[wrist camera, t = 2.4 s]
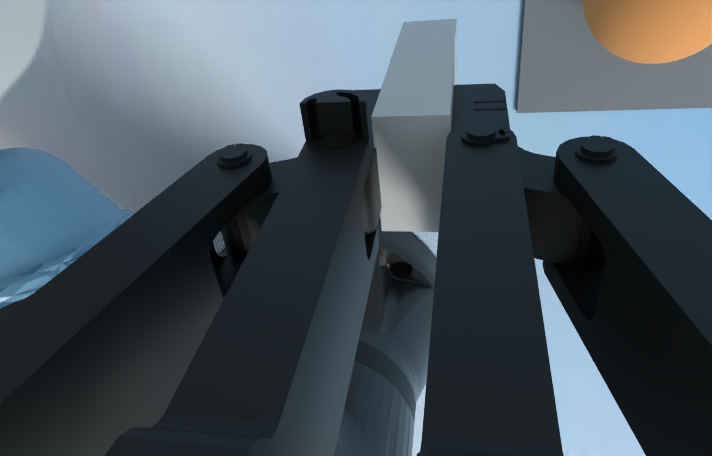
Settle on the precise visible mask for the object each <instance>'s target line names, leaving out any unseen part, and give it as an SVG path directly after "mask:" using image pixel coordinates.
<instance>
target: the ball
mask: <svg viewBox="0 0 712 456" xmlns="http://www.w3.org/2000/svg"><path fill="white" fill-rule="evenodd" d="M582 3H583V11H584V15H585V19H586V21H587V24H588V27H589V29H590V30H591V32H592V34H593V36H594V37H595V38H596V39H597V41H598V42H599V43H600V44H601V45H602V46H603V47H605V48H606V49H607V50H608V51H610V52H611V53H613V54H614V55H616V56H618V57H621V58H623V59H625V60H629V61H632V62H636V63H643V64H659V63H668V62H672V61H677V60H680V59H683V58H686V57H688V56H691V55H693V54H695V53H697V52H699V51H701V50H703V49H704V48H706V47H708V46H709V45H711V44H712V0H582Z"/></svg>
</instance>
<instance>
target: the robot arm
mask: <svg viewBox="0 0 712 456" xmlns="http://www.w3.org/2000/svg"><path fill="white" fill-rule="evenodd" d="M300 109H301V114H302V120H303V126H304V132H305V138H306V142H305V144H304V146H303V148H302V150H301V152H300V154H299V156H298V157H297V158H293V159H289V160H284V161H278V162H272V163H269V160H268V155H267V151H266V150H265V149H264V148H262V147H261V146H257V145H253V144H236V145H234V144H233V145H228V146H226V147H225V148H223V149H220V150H217V151H215V152H214V153H212V154H210V155H209V156H207V157H206V158H205V159H203V160H202V161H201V162H200V163H198V164H197V165H196V166H195V167H193V168H192V169H191V170H190V171H188V172H187V173H186V174H184V175H183V176H182V177H181V178H179V179H178V180H177V181H176V182H174V183H173V184H172V185H170V186H169V187H168V188H167V189H165V190H164V191H163V192H162V193H160V194H159V195H158V196H156V197H155V198H154V199H153V200H151V201H150V202H149V203H148V204H146V205H145V206H144V207H143V208H141V209H140V210H139V211H137V212H136V213H135V214H134V213H132V212H131V211H129V210H124V209H120V208H119V207H117V206H116V205H115V204H114V203H113V202H111V201H110V200H109V199H108V198H107V197H105V196H104V195H103V194H102V193H101V192H100V191H98V190H97V189H96V188H95V187H94V186H92V185H91V184H90V183H89V182H88V181H86V180H85V179H84V178H83V177H82V176H80V175H79V174H78V173H77V172H76V171H75V170H73V169H72V168H71V167H70V166H69V165H67V164H66V163H65V162H63V161H62V160H60V159H59V158H57V157H55V156H53V155H51V154H49V153H47V152H44V151H40V150H36V149H29V148H9V149H3V150H0V456H412V447H413V435H414V420H415V410H416V402H417V400H418V398H419V396H420V394H421V392H422V390H423V388H424V386H425V384H426V395H425V407H424V419H423V431H422V442H421V449H420V452H419V453H417V456H563V451H562V445H561V438H560V431H559V424H558V418H557V411H556V404H555V397H554V390H553V384H552V377H551V370H550V363H549V356H548V350H547V343H546V336H545V329H544V322H543V315H542V309H541V302H540V295H539V288H538V281H537V275H536V268H535V261H534V258H536V259H540V260H543V269H544V273H545V275H546V276H547V278H548V280H549V282H550V284H551V285H552V287H553V289H554V291H555V293H556V294H557V296H558V298H559V300H560V302H561V303H562V305H563V307H564V309H565V311H566V312H567V314H568V316H569V318H570V320H571V321H572V323H573V325H574V327H575V329H576V330H577V332H578V334H579V336H580V338H581V339H582V341H583V343H584V345H585V347H586V348H587V350H588V352H589V354H590V356H591V357H592V359H593V361H594V363H595V365H596V366H597V368H598V370H599V372H600V374H601V375H602V377H603V379H604V381H605V383H606V384H607V386H608V388H609V390H610V392H611V393H612V395H613V397H614V399H615V401H616V402H617V404H618V406H619V408H620V410H621V411H622V413H623V415H624V417H625V419H626V420H627V422H628V424H629V426H630V428H631V429H632V431H633V433H634V435H635V437H636V438H637V440H638V442H639V444H640V446H641V448H642V449H643V451H644V453H645V455H646V456H712V220H711V219H710V218H709V217H708V216H706V215H705V214H704V213H703V212H702V211H701V210H700V209H699V208H698V207H697V206H696V205H694V204H693V203H692V202H691V201H690V200H689V199H688V198H687V197H686V196H685V195H684V194H683V193H681V192H680V191H679V190H678V189H677V188H676V187H675V186H674V185H673V184H672V183H671V182H669V181H668V180H667V179H666V178H665V177H664V176H663V175H662V174H661V173H660V172H659V171H658V170H656V169H655V168H654V167H653V166H652V165H651V164H650V163H649V162H648V161H647V160H646V159H644V158H643V157H642V156H641V155H640V154H639V153H638V152H637V151H636V150H635V149H634V148H632V147H630V146H629V145H627V144H625V143H624V142H620V141H617V140H614V139H612V138H610V137H605V136H603V137H601V136H590V137H579V138H575V139H570V140H568V141H566V142H564V143H562V144H560V146H559V148H558V149H557V152H556V157H552V156H545V155H540V154H535V153H531V152H529V151H526V150H524V149H522V148H520V147H518V145H517V138H516V136H515V134H514V133H513V131H511V130H510V125H509V118H508V111H507V103H506V96H505V91H504V90H502V89H501V88H500V87H499V86H497V85H496V84H471V85H456V19H448V20H431V21H414V22H404V23H403V26H402V29H401V32H400V35H399V38H398V41H397V44H396V47H395V50H394V53H393V55H392V58H391V61H390V64H389V67H388V70H387V73H386V76H385V79H384V82H383V85H382V87H381V89H375V90H353V91H352V90H330V91H324V92H320V93H316V94H313V95H311V96H309V97H307V98H305V99H304V100H303V101H302V102H301V103H300ZM379 216H380V217H379ZM220 231H221V233H222V236H223V239H224V243H225V246H226V247H225V248H224V249H223V250H222V251H221V252H219V253H218V254H217V252H216V251H215V248H214V245H213V240H214V239H215V237H216V236H217V234H218V233H219V232H220ZM408 231H409V232H408ZM410 232H439V235H438V247H437V259H436V258H435V256H434V255H433V254H432V253H431V251H430V250H429V249H428V248H427V247H426V246H425V245H424V244H423V243H422V242H421V241H420V240H419V239H417V238H416V237H415V236H414V235H412V234H411V233H410Z"/></svg>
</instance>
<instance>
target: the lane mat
mask: <svg viewBox="0 0 712 456" xmlns="http://www.w3.org/2000/svg"><path fill="white" fill-rule="evenodd" d="M676 108H712V44H711V45H709V46H708V47H706V48H704V49H703V50H701V51H699V52H697V53H695V54H693V55H691V56H688V57H686V58H683V59H680V60H677V61H672V62H668V63H659V64H643V63H636V62H632V61H629V60H625V59H623V58H621V57H618V56H616V55H614V54H613V53H611V52H610V51H608V50H607V49H606V48H605V47H603V46H602V45H601V44H600V43H599V42H598V41H597V39H596V38H595V37H594V36H593V34H592V32H591V30H590V29H589V27H588V24H587V21H586V19H585V15H584V11H583V3H582V0H525V5H524V19H523V32H522V46H521V60H520V74H519V87H518V101H517V113H532V112H568V111H604V110H640V109H676Z"/></svg>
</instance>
